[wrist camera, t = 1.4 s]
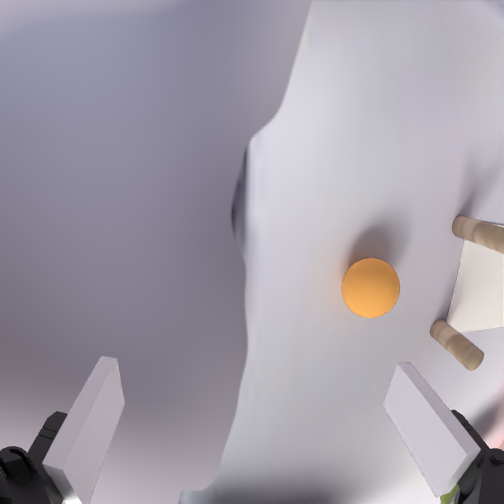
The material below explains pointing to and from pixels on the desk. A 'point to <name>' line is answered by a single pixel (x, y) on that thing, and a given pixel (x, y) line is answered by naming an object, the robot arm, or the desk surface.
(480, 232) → the post
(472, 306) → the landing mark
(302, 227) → the desk surface
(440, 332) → the post
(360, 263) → the ball
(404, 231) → the desk surface
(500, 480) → the robot arm
